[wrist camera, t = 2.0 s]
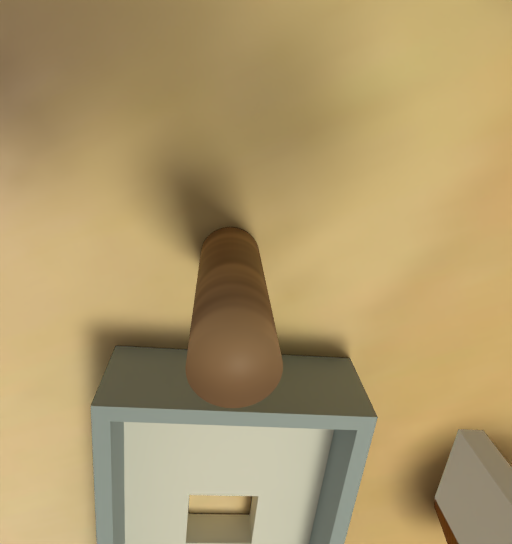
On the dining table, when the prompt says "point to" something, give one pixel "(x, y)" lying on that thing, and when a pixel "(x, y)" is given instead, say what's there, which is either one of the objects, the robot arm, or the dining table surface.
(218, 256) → the dowel
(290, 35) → the dining table surface
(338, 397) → the tray
